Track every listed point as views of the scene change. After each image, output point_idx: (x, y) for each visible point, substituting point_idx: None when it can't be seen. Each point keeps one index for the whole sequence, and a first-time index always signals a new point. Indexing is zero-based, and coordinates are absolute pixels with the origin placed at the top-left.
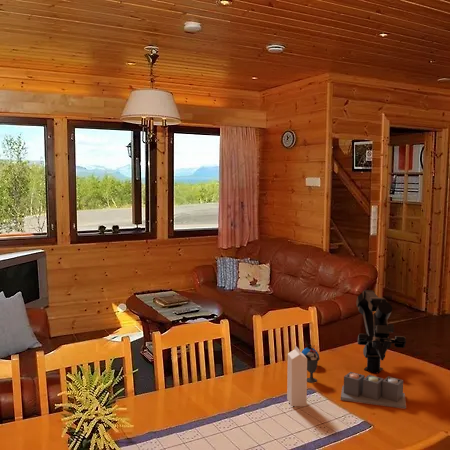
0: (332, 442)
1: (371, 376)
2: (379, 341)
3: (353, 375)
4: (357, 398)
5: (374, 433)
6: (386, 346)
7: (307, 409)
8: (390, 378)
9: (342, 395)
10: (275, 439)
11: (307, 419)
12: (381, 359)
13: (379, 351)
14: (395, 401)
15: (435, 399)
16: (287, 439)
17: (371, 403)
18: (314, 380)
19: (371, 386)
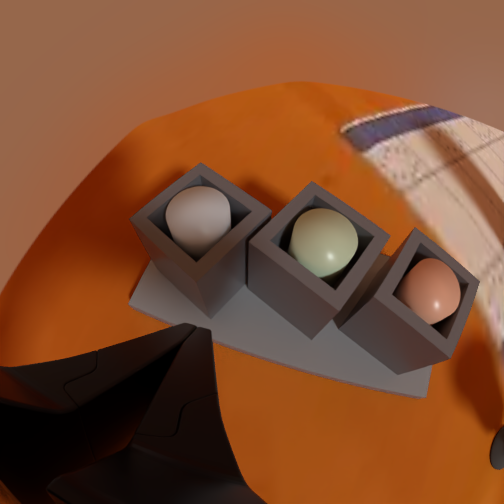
0: (421, 107)
1: (332, 266)
2: (103, 494)
3: (441, 283)
4: (379, 261)
5: (340, 109)
6: (15, 378)
7: (499, 223)
8: (204, 228)
9: None
10: (498, 138)
11: (485, 180)
12: (210, 333)
13: (207, 385)
14: None
15: (41, 269)
16: (485, 133)
17: None
18: (502, 439)
19: None
